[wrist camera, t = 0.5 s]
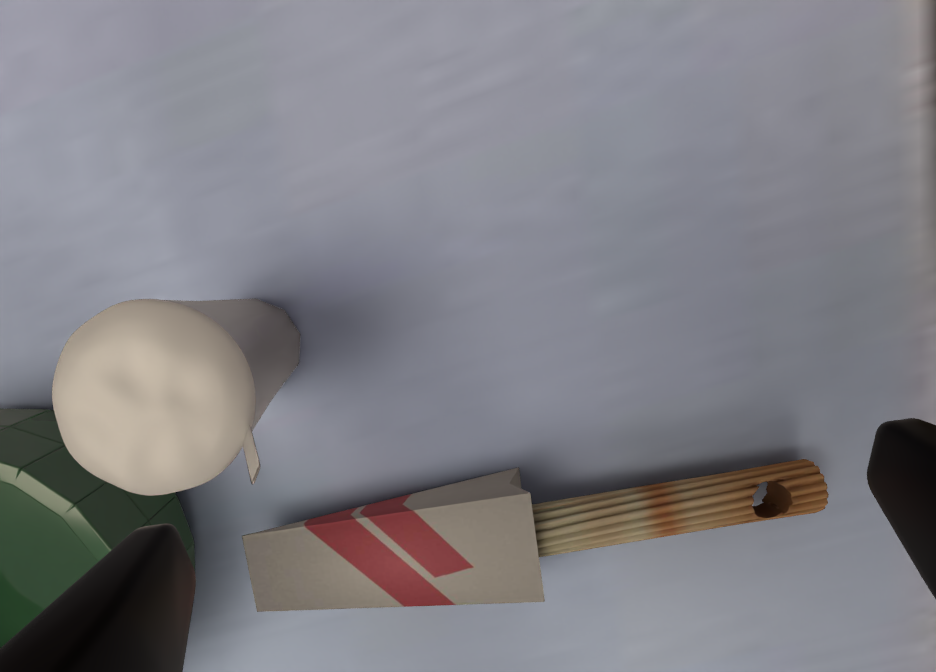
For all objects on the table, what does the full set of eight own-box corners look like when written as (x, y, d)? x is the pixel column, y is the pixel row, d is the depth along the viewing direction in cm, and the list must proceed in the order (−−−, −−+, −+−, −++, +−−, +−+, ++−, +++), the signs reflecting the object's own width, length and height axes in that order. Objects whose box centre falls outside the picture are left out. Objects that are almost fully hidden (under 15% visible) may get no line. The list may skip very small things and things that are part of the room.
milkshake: (315, 435, 24) (218, 573, 14) (172, 379, 23) (-33, 480, 13) (361, 319, 23) (295, 376, 13) (216, 259, 23) (36, 272, 13)
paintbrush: (226, 538, 21) (835, 447, 22) (248, 505, 24) (789, 425, 25) (247, 651, 21) (841, 556, 22) (266, 606, 24) (795, 523, 25)
